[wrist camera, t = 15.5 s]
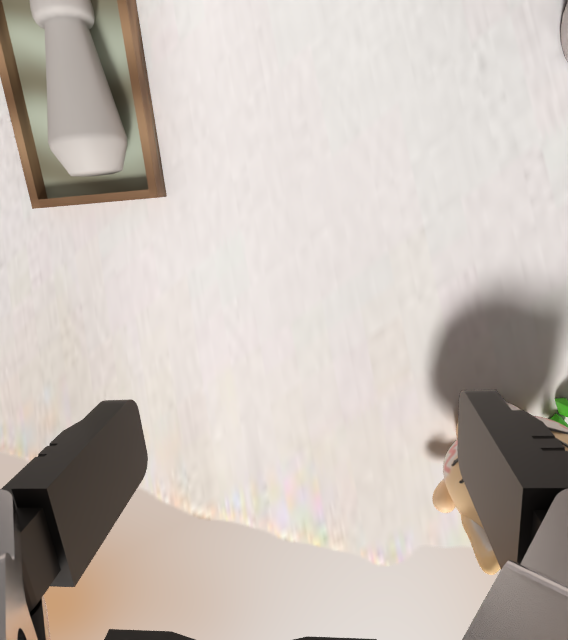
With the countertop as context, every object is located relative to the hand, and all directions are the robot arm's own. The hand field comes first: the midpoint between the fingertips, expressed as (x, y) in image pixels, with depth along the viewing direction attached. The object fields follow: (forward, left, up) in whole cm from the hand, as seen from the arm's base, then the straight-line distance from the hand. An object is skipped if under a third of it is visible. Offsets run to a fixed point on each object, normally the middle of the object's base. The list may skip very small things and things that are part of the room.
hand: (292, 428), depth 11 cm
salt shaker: (+6, -18, -26) cm, 33 cm away
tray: (+1, -24, -30) cm, 39 cm away
